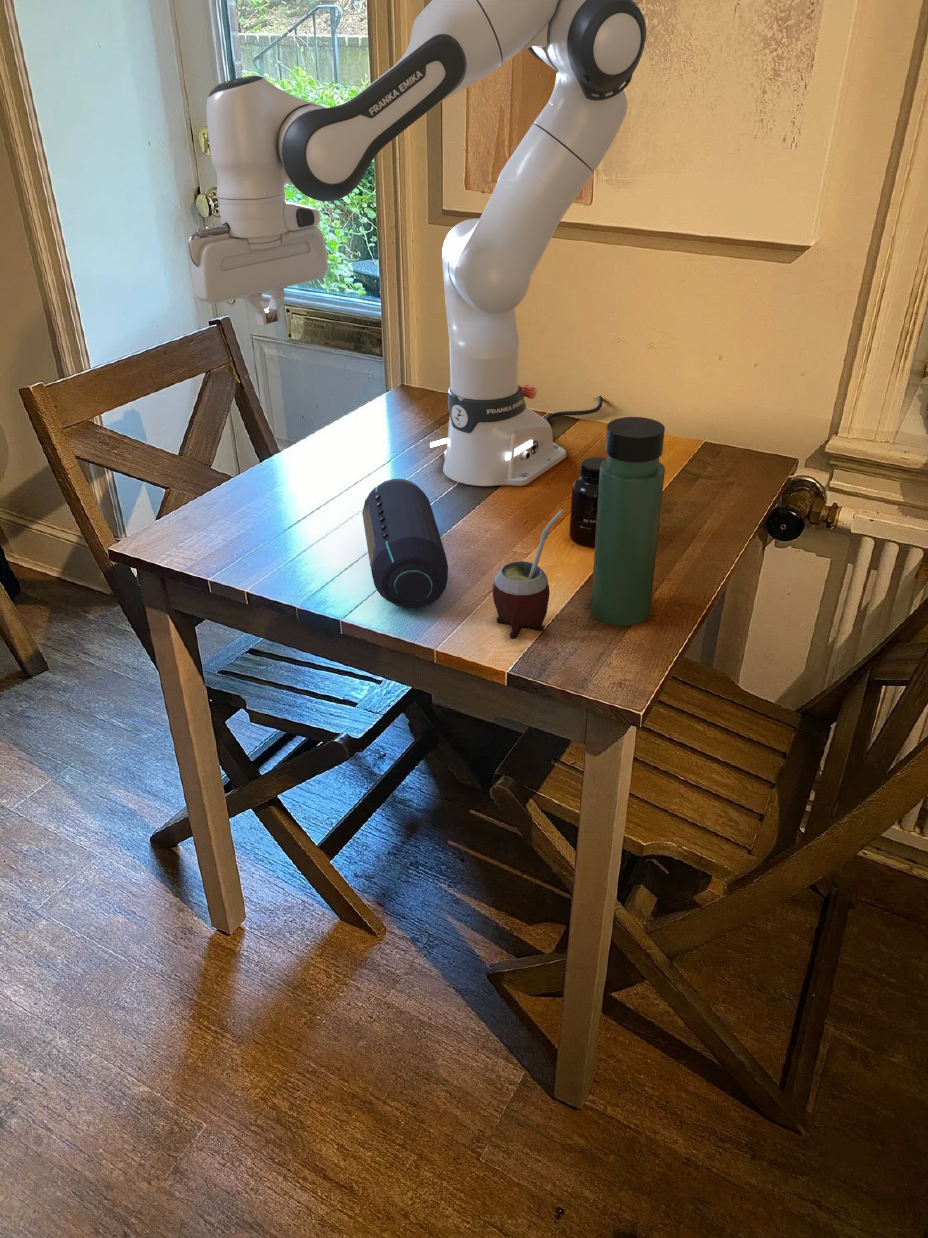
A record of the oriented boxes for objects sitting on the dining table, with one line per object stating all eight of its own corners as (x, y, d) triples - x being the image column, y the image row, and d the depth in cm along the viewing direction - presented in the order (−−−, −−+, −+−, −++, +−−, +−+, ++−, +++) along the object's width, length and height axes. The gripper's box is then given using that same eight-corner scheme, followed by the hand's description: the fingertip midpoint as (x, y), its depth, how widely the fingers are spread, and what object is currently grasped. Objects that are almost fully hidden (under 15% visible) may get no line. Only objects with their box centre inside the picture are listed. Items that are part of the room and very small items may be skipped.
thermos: (614, 588, 126) (629, 410, 113) (661, 609, 122) (682, 426, 108) (578, 610, 122) (589, 427, 108) (626, 632, 117) (643, 444, 104)
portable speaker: (363, 534, 141) (357, 472, 136) (429, 528, 142) (426, 467, 137) (377, 624, 120) (371, 555, 115) (454, 616, 121) (452, 548, 116)
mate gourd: (484, 635, 118) (484, 528, 109) (505, 603, 124) (506, 500, 116) (542, 646, 115) (545, 537, 107) (559, 613, 121) (564, 508, 113)
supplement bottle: (586, 553, 135) (590, 476, 128) (560, 534, 140) (563, 459, 133) (625, 542, 137) (631, 466, 131) (598, 524, 142) (603, 450, 136)
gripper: (199, 233, 117) (218, 344, 124) (329, 209, 129) (338, 312, 136) (172, 227, 120) (192, 335, 128) (301, 204, 132) (312, 304, 140)
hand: (269, 323), depth 132 cm, fingers closed
